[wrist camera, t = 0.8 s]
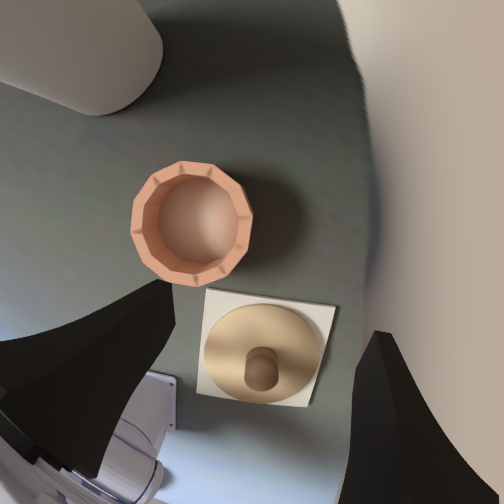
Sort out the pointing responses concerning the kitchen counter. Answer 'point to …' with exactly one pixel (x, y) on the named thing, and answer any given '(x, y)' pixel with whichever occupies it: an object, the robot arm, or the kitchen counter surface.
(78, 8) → the cylinder vase
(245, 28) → the kitchen counter surface
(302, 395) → the mat
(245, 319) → the lid
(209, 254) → the bowl
